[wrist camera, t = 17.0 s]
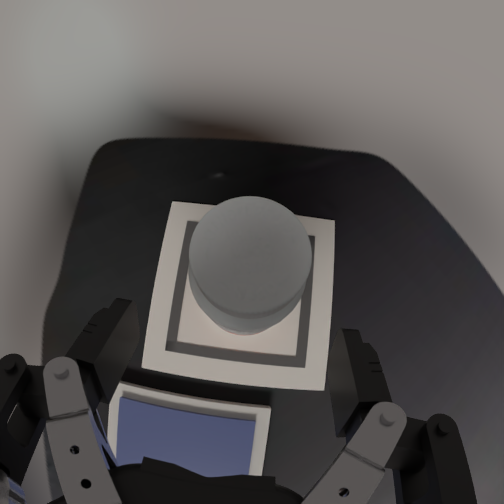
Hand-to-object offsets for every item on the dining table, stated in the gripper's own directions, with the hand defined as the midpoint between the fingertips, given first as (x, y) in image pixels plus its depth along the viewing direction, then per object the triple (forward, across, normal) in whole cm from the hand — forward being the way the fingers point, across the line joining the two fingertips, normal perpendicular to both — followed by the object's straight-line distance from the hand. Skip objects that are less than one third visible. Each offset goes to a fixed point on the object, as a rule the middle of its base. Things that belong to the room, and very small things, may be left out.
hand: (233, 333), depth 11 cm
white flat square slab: (+11, 0, +5) cm, 12 cm away
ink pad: (+2, +3, +15) cm, 15 cm away
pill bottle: (+10, 0, +6) cm, 12 cm away
